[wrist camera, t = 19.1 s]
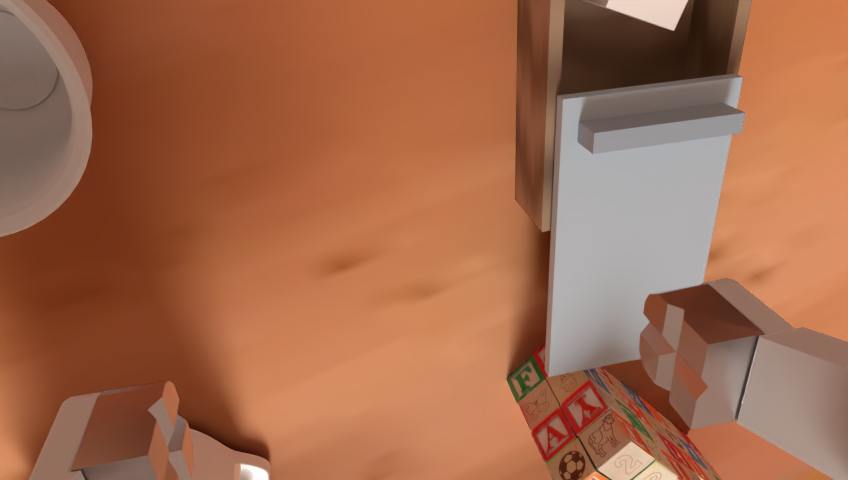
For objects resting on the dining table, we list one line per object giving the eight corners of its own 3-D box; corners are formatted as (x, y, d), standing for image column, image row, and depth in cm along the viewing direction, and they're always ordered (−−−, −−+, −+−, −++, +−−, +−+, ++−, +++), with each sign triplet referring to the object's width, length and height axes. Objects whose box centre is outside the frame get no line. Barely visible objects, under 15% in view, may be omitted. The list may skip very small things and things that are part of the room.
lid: (557, 95, 34) (578, 109, 32) (733, 73, 36) (766, 85, 34) (544, 369, 44) (559, 396, 42) (684, 342, 46) (706, 366, 43)
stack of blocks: (688, 433, 60) (776, 547, 49) (639, 473, 61) (715, 591, 51) (557, 328, 50) (633, 442, 39) (502, 378, 51) (561, 501, 41)
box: (519, -133, 33) (555, -139, 29) (719, -146, 35) (781, -153, 31) (515, 199, 43) (541, 232, 39) (671, 176, 45) (713, 204, 41)
